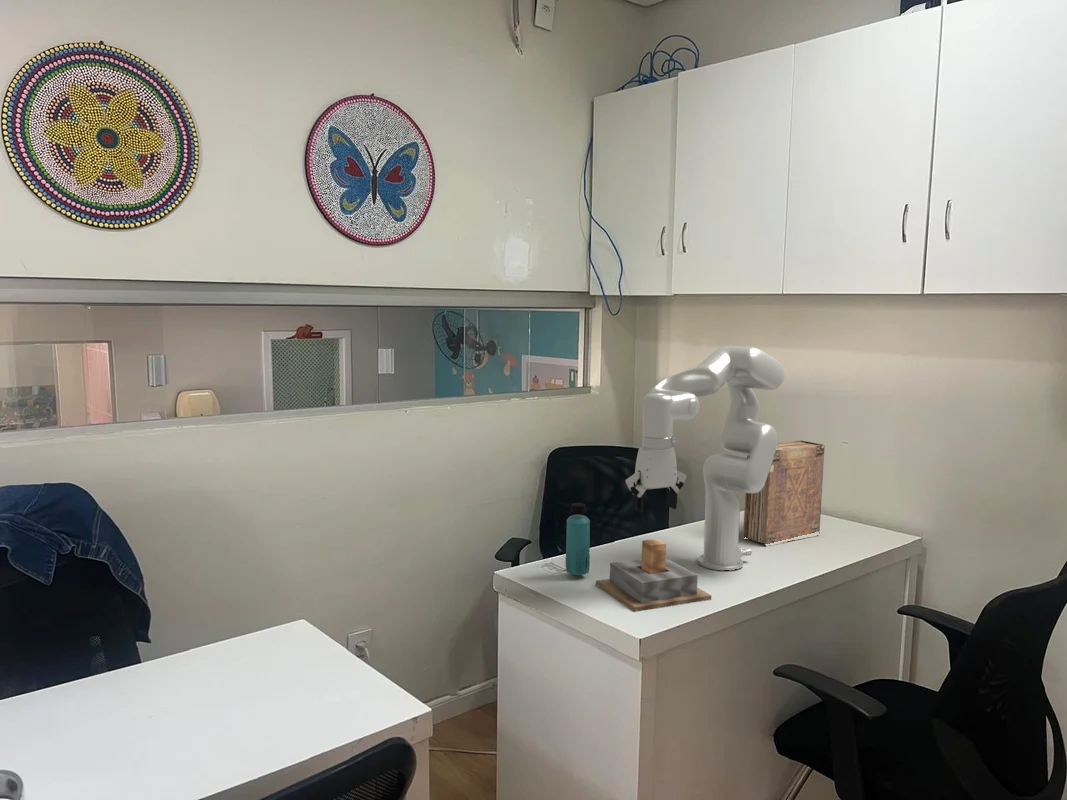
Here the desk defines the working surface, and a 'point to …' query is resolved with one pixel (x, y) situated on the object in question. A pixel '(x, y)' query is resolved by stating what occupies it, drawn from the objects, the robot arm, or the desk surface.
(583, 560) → the beverage bottle
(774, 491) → the book
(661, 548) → the peg
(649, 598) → the socket board
